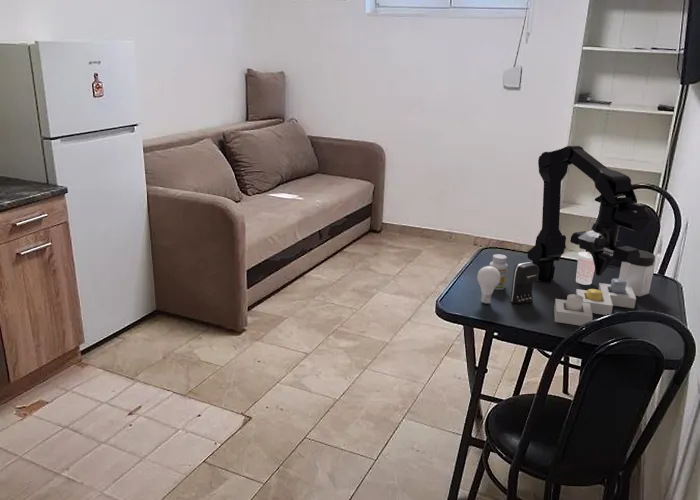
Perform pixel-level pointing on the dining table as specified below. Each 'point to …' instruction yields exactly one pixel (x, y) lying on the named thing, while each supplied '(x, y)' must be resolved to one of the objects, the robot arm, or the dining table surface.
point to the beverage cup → (585, 268)
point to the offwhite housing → (572, 313)
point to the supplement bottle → (500, 269)
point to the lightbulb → (488, 282)
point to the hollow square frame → (597, 303)
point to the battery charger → (523, 282)
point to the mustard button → (594, 294)
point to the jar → (639, 273)
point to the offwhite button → (574, 302)
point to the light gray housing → (619, 296)
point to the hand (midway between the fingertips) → (598, 275)
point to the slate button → (618, 286)
